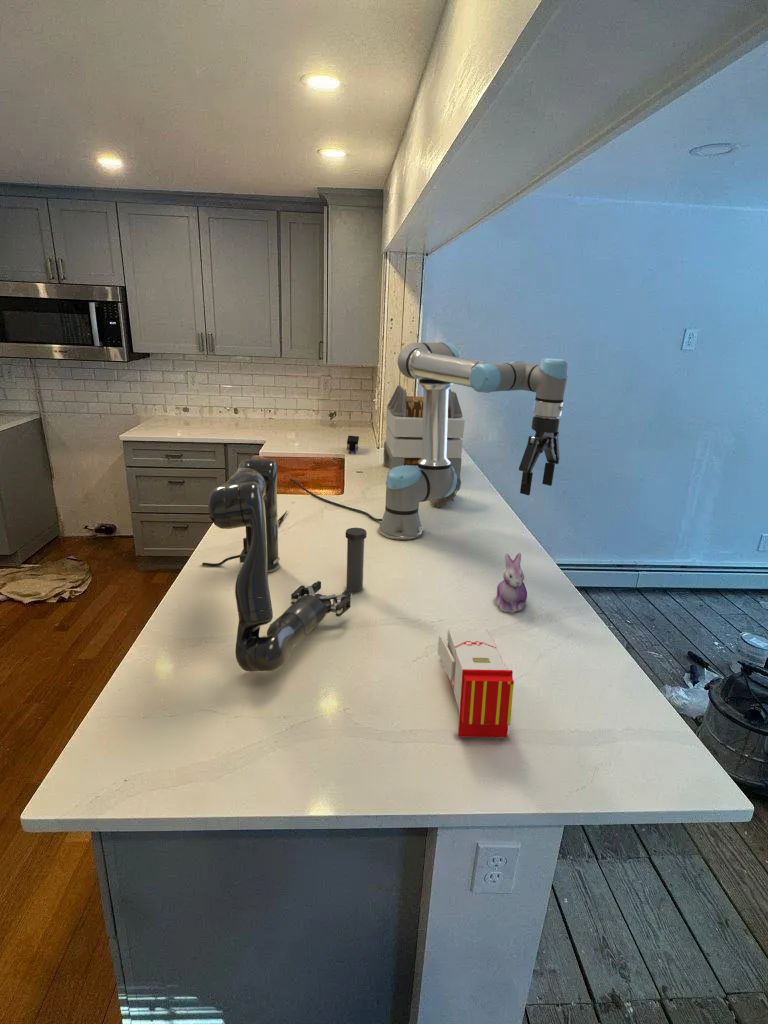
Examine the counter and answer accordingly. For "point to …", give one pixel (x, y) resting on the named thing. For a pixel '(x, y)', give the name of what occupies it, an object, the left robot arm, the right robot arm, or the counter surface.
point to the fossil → (447, 499)
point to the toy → (478, 682)
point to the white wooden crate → (418, 430)
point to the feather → (281, 518)
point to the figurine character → (352, 443)
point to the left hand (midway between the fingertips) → (334, 587)
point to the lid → (356, 534)
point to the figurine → (512, 586)
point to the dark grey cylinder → (355, 565)
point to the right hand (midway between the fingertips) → (536, 489)
